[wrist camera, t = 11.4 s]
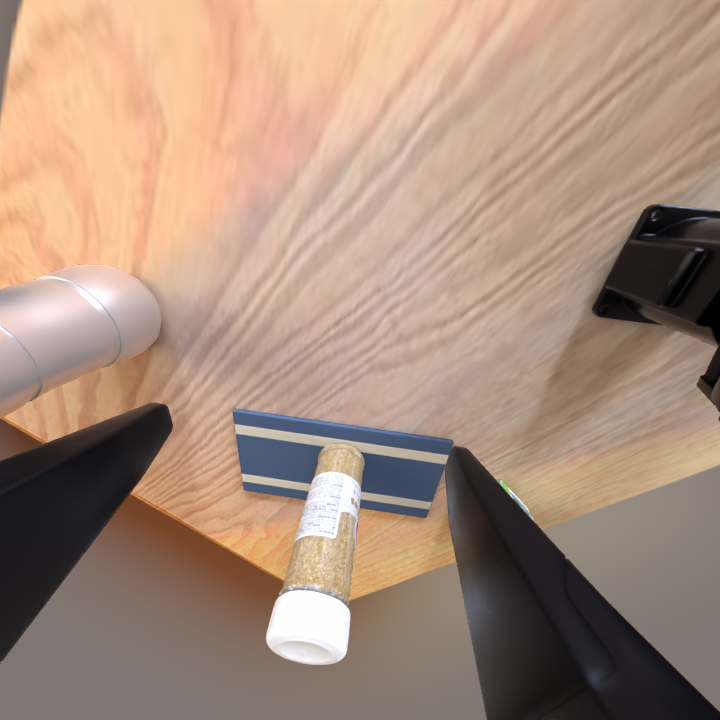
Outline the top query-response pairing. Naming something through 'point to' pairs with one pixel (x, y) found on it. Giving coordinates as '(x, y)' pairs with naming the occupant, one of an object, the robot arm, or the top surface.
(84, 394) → the top surface
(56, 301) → the silver water bottle
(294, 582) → the sprinkles bottle
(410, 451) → the tea towel
